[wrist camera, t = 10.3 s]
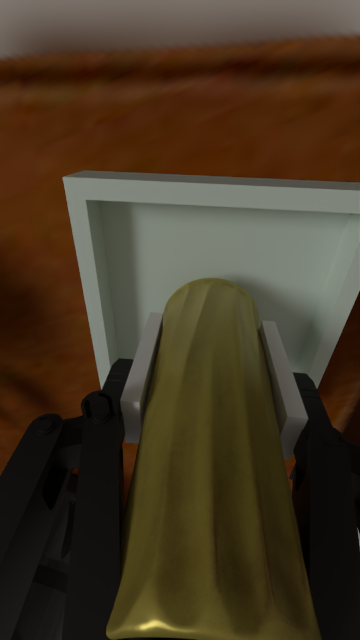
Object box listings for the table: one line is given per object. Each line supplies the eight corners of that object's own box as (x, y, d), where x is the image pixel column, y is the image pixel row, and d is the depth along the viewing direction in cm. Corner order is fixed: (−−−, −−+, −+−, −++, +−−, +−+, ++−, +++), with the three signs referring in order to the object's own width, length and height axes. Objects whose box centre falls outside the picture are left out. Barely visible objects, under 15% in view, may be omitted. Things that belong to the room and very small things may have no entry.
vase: (275, 293, 17) (432, 674, 5) (236, 364, 20) (273, 694, 8) (177, 263, 16) (89, 607, 4) (154, 342, 20) (68, 656, 8)
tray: (295, 387, 24) (305, 416, 22) (113, 371, 25) (102, 397, 23) (371, 183, 15) (402, 192, 13) (85, 170, 16) (62, 176, 14)
